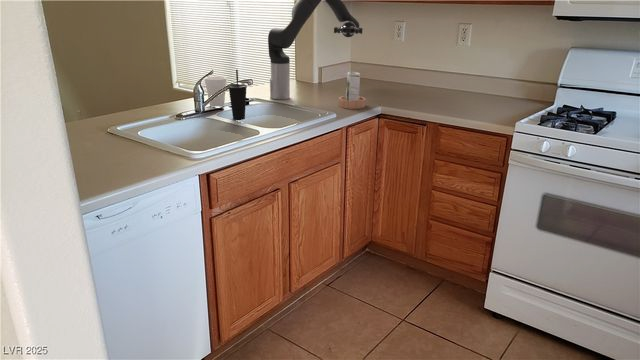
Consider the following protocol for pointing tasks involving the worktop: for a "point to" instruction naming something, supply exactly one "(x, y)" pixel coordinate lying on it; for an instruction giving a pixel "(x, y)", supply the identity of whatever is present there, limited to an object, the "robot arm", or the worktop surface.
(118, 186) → the worktop surface
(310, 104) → the worktop surface
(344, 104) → the terracotta bowl
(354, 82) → the syrup box
